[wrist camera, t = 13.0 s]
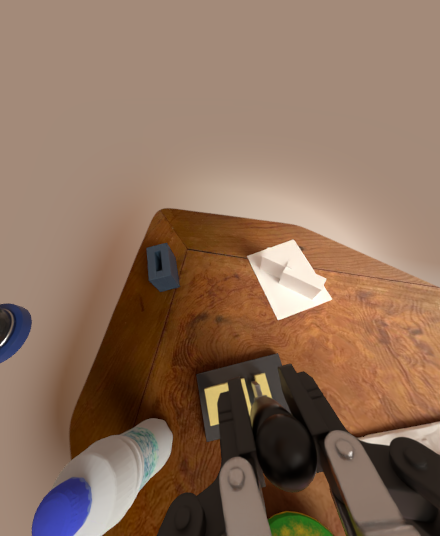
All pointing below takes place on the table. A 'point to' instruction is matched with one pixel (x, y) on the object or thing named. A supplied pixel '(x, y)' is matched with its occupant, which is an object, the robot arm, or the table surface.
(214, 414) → the butter block
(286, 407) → the board
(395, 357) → the table surface
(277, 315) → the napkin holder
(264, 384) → the butter pat
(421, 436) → the terrain model
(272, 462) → the knife
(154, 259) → the knife stand
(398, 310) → the table surface
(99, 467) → the bottle
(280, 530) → the figurine
